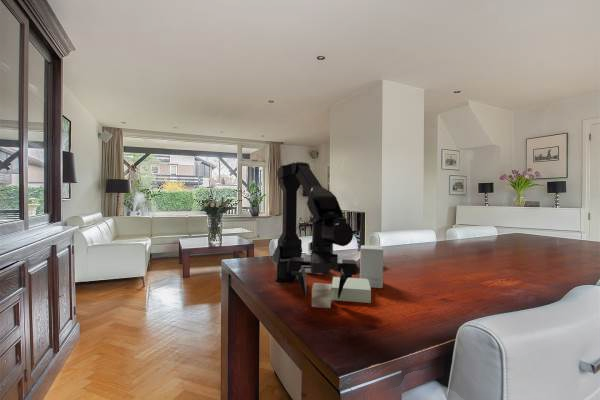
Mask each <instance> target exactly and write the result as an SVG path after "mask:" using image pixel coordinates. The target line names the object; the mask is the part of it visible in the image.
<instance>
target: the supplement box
mask: <svg viewBox="0 0 600 400" xmlns="http://www.w3.org/2000/svg"><path fill="white" fill-rule="evenodd" d="M359 251H360V262H359V278H361V279H368V280H369V284H370V288H373V289H374V288H377V289H382V288H384V287H383V286H384V284H383V283H384V279H383V278H384V267H383V259H384V248H383V246H382V245H361V244H360V250H359Z"/></svg>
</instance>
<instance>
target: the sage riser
mask: <svg viewBox="0 0 600 400" xmlns="http://www.w3.org/2000/svg"><path fill="white" fill-rule="evenodd" d="M339 281H340V277H339V276H332V282H331V284H332V286H331V301H337V302H338V301H339V302H340V301H341V302H353V303H366V304H367V303H368V304H371V302H372V301H371V300H372V289H371V288H372V287H370V284H369V280H368V279H361V278H360V277H351V278H348V279H347V280H346V282H345V284H344V286H343V289H342V292H341V295H340V298H338V288H339Z"/></svg>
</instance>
